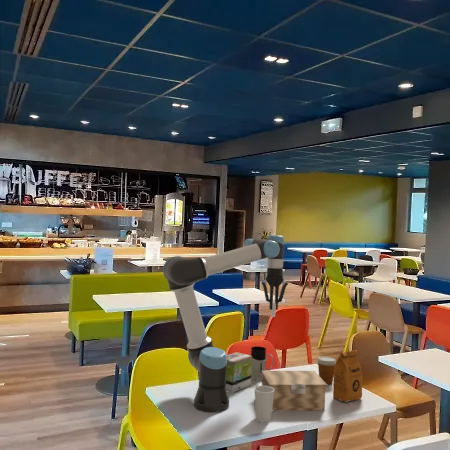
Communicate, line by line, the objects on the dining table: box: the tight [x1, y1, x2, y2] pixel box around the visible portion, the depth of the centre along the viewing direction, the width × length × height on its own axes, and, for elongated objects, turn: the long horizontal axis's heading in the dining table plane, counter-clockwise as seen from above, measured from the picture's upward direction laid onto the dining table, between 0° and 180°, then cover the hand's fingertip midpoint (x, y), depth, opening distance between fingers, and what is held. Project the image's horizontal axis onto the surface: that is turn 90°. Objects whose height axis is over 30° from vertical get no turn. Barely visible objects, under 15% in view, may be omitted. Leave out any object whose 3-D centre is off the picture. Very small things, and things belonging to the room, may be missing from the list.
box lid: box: [261, 370, 328, 394], centre depth 208 cm, size 25×19×4 cm
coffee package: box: [332, 349, 364, 403], centre depth 215 cm, size 10×12×22 cm
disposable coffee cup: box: [316, 355, 337, 385], centre depth 237 cm, size 10×10×12 cm
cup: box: [254, 385, 274, 423], centre depth 190 cm, size 8×8×12 cm
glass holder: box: [250, 345, 274, 381], centre depth 238 cm, size 9×14×15 cm, turn 44°
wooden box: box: [261, 375, 326, 412], centre depth 208 cm, size 24×18×10 cm
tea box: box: [226, 351, 252, 394], centre depth 225 cm, size 15×10×15 cm, turn 143°
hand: (273, 316), depth 225 cm, fingers closed
